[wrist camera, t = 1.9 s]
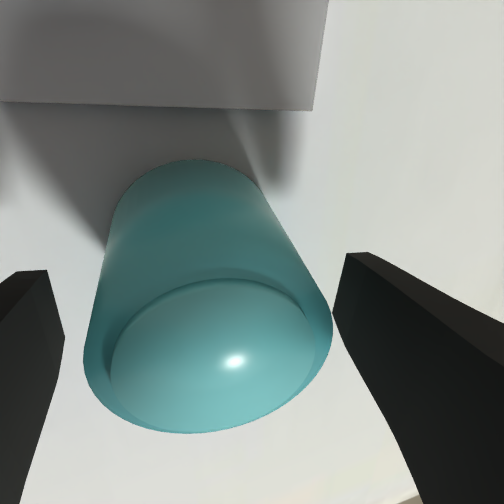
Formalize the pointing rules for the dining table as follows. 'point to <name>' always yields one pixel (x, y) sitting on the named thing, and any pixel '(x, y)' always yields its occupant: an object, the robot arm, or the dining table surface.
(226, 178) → the cap
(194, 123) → the dining table surface
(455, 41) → the dining table surface
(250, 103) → the octagonal ring on plate
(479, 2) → the dining table surface
